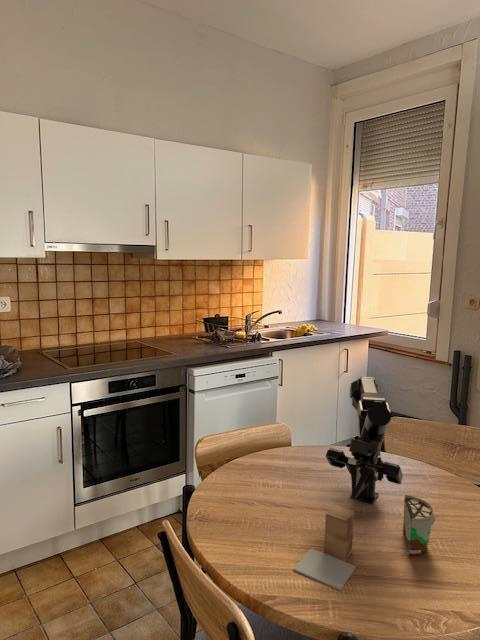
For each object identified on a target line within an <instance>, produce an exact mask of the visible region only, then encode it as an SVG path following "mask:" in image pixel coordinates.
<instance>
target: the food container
mask: <svg viewBox="0 0 480 640" xmlns="http://www.w3.org/2000/svg"><path fill="white" fill-rule="evenodd" d="M403 501H404V504H403V505H404V508H403V523H402V524H403V525H402V536H403V540H404V545H405V549H406V554H407V556H408V557H412V558H413V557H421V556H423V555H425V554H426V553H427V552H428V546H429V540H430V534H431V530H432V529H431V528H432V526H433V525H434V524H435V522H436V517H435V511H434V508H433V507H432V505H431V504H430V503H428V502H427V501H426V500H424V499H421V498H419V497H416V496H413V495H408V494H404V500H403Z"/></svg>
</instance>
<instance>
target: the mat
mask: <svg viewBox="0 0 480 640" xmlns="http://www.w3.org/2000/svg"><path fill="white" fill-rule="evenodd" d="M356 569H357V566H356V565H354V564H351V563H348V562H346V561H341V560H339V559H336V558H334V557H331V556H329V555H326V554H324V552H320V551H319V550H316V549H313V548H311V549H309V551H308V552H307V553H306V554H305V555H304V556H303V557H302V559H300V560H299V562H298V563H297V564H296V565H295V566H294V567H293V571H294V572H297V573H299V574H301V575H303V576H306V577H308V578H310V579H311V580H315V581H317V582H319V583H322V584H324V585H327V586H329V587H331V588H334V589H336V590H338V591H342V590H343V587H344V586H345V585H346V584H347V582H348V580H349V579H350V578H351V576H352V575H353V573H354V571H355V570H356Z"/></svg>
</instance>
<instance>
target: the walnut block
mask: <svg viewBox="0 0 480 640" xmlns="http://www.w3.org/2000/svg"><path fill="white" fill-rule="evenodd" d="M324 523H325V524H324V543H323V553H324V554H326V555H329V556H331V557H334V558H336V559H339V560H341V561H344V562H346V560H347V558H348V557H349V556H350V554H351V553H352V552H353V543H354V542H353V539H354V526H355V525H354V524H355V511H354V510H352V509H348V508H345V507H342V506H339V505H336V504H333V505H332V507H331V508H329V510H328V511H327V512H326V513H325V522H324Z"/></svg>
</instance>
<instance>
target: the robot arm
mask: <svg viewBox="0 0 480 640" xmlns="http://www.w3.org/2000/svg"><path fill="white" fill-rule="evenodd" d="M378 387H379V386H378V384H377V383H376V378H375V377H373V376H358V377H357V379H356V380H354V381H353V382H351V383H350V387H349V399H351V405H352V407H353V408H354V409H355V411H356V414H357V430H358V432H357V433H358V438H357V439H355V438H351V440H350V445H349V448H348V449H349V450H348V451H349V452H350V454H351V456H353V457H351V456H346V454H345V451H343V450H341V449H337V448H332V447H330V448H329V449H327V451H326V454H325V459H326V460H327V461H328V463H329V465H330V466H332V467H335V468H338V469H343V468H346V469H347V472H348V473H349V474H350V479H351V494H350V495H349V496H350V498H352V499H355V500H359V501H361V502H365V503H367V504H373V503H374V502H375V501H376V499H377V498H378V496H379V492H376V482H377V481H380V482H382V481H383V479H384V475H385V478H386V480H387V482H389V483H393V484H397V485H401V484H402V481H403V477H404V476H403V475H404V474H403V472H402V468H401V467H400V465H399V464H396V463H392V462H389V461H383V459H382V457H381V449H382V445H383V441H384V439H385V434H386V431H387V429H388V427H389V426H390V425H389V424H390V421H391V420H392V417H393V416H392V409H391V407H390V406H389V403H388V401H386V398H385V397H384V395H381V394H379V392H378V391H379V389H378Z"/></svg>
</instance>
